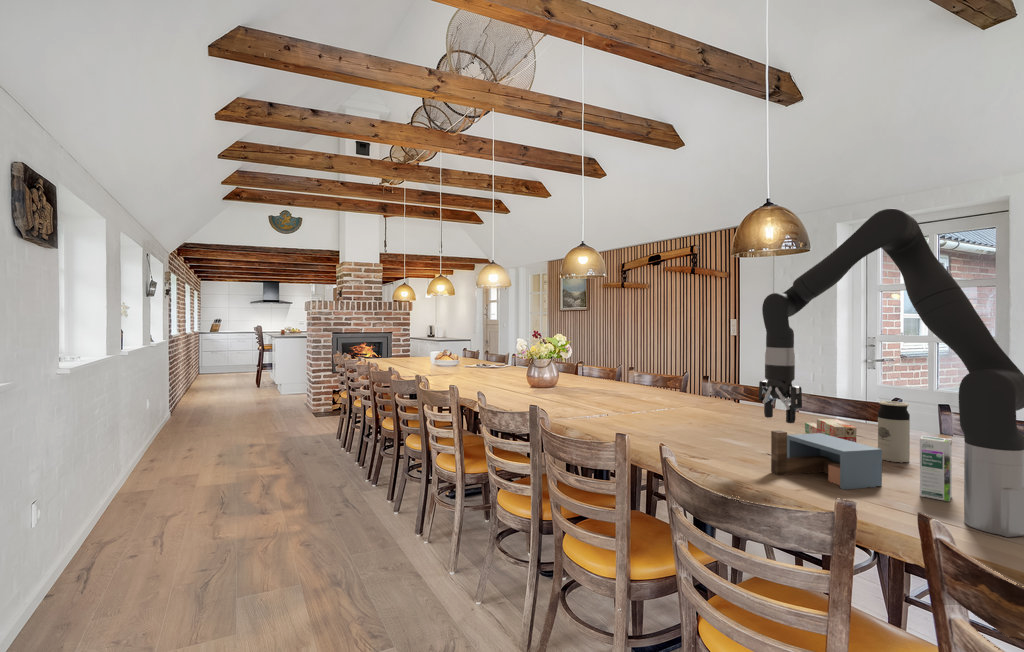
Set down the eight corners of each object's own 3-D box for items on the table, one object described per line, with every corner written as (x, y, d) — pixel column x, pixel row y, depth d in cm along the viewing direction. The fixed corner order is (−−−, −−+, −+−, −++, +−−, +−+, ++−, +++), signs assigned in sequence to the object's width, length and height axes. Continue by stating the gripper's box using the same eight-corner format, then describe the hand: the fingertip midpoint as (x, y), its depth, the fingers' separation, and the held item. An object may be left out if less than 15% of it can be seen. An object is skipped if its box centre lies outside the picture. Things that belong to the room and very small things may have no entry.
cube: (856, 485, 133) (856, 468, 133) (842, 486, 132) (842, 469, 132) (842, 480, 137) (842, 463, 137) (828, 481, 137) (828, 464, 137)
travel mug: (898, 456, 162) (898, 401, 162) (915, 463, 154) (916, 404, 154) (872, 456, 162) (872, 400, 162) (888, 462, 154) (888, 404, 154)
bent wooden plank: (844, 477, 140) (844, 434, 140) (791, 480, 136) (791, 436, 136) (821, 469, 148) (821, 428, 148) (771, 472, 144) (771, 430, 144)
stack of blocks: (804, 449, 172) (804, 413, 172) (824, 450, 171) (824, 414, 171) (833, 466, 151) (834, 425, 151) (856, 467, 150) (856, 426, 150)
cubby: (881, 486, 132) (881, 449, 132) (844, 489, 129) (844, 451, 129) (820, 465, 151) (820, 433, 151) (786, 467, 149) (786, 434, 149)
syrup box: (919, 496, 124) (919, 438, 124) (922, 491, 128) (922, 434, 128) (949, 502, 120) (949, 441, 120) (952, 496, 124) (952, 437, 124)
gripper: (810, 365, 137) (810, 424, 137) (773, 361, 151) (772, 415, 151) (786, 365, 135) (786, 425, 136) (751, 361, 149) (750, 415, 149)
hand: (779, 420), depth 143 cm, fingers open, 8 cm apart
